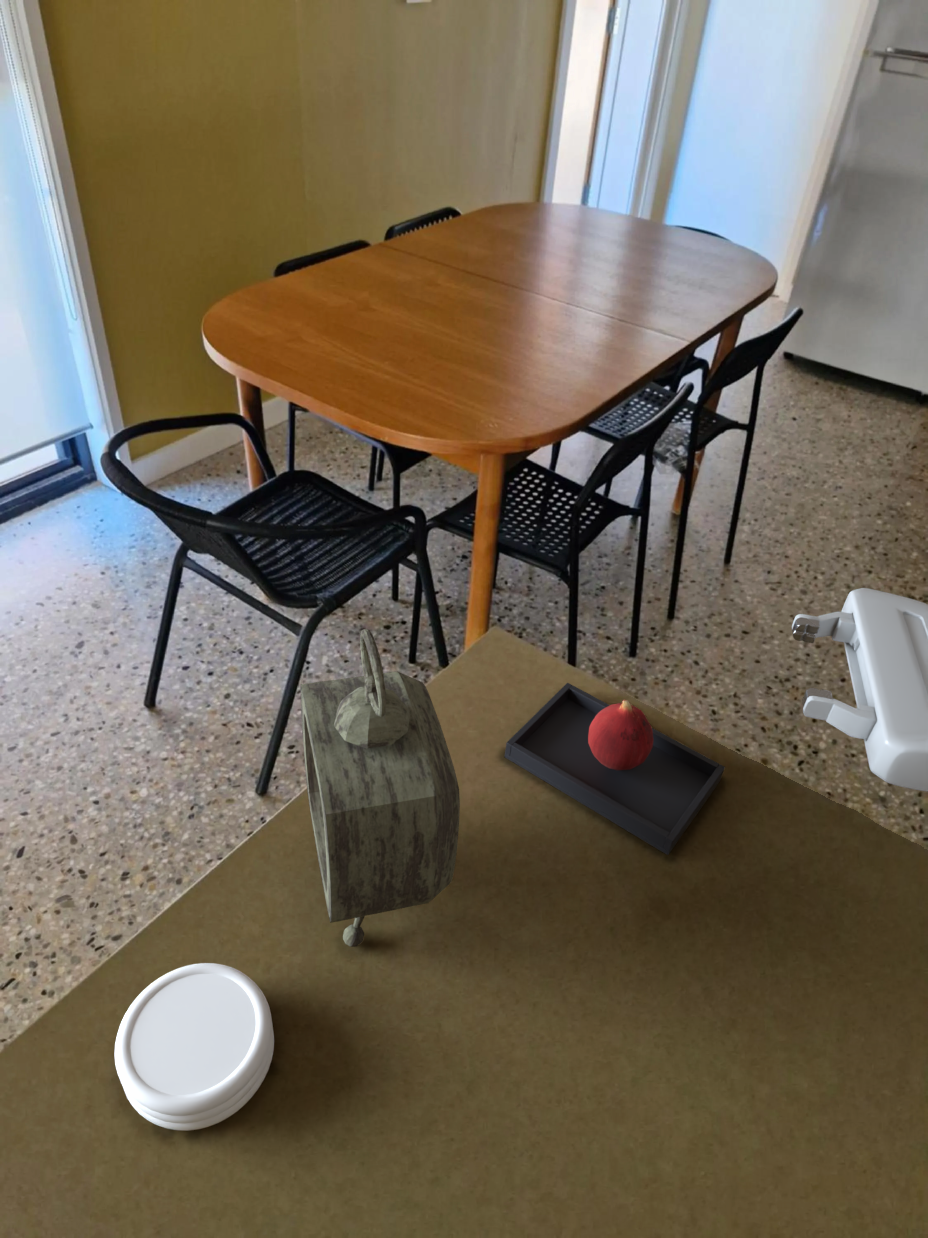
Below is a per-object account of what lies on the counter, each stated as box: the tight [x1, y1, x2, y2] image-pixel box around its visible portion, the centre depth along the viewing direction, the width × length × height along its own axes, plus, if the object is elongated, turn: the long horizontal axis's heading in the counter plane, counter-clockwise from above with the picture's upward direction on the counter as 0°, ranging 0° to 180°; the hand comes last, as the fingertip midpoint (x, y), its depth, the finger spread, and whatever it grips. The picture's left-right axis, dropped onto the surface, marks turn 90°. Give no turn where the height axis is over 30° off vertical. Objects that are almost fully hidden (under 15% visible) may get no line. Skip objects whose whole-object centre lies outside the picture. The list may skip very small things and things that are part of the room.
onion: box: [588, 699, 653, 770], centre depth 81 cm, size 6×6×8 cm
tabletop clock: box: [300, 628, 461, 948], centre depth 65 cm, size 14×9×25 cm, turn 15°
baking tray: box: [503, 682, 726, 856], centre depth 83 cm, size 17×11×2 cm, turn 53°
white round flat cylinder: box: [113, 962, 275, 1131], centre depth 59 cm, size 10×10×4 cm
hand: (798, 661), depth 71 cm, fingers open, 8 cm apart
